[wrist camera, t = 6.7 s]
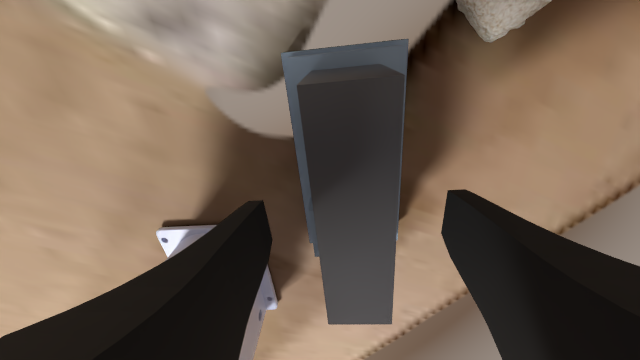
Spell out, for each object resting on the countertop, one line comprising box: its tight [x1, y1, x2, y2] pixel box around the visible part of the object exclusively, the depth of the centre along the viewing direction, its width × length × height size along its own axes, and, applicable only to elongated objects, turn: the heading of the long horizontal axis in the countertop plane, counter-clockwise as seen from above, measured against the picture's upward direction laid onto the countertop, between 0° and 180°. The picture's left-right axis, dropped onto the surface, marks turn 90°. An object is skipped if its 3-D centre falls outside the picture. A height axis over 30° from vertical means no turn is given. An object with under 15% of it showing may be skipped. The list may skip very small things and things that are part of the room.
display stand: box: [281, 39, 408, 257], centre depth 14 cm, size 12×6×5 cm, turn 6°
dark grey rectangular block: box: [297, 64, 405, 324], centre depth 12 cm, size 11×3×4 cm, turn 6°
